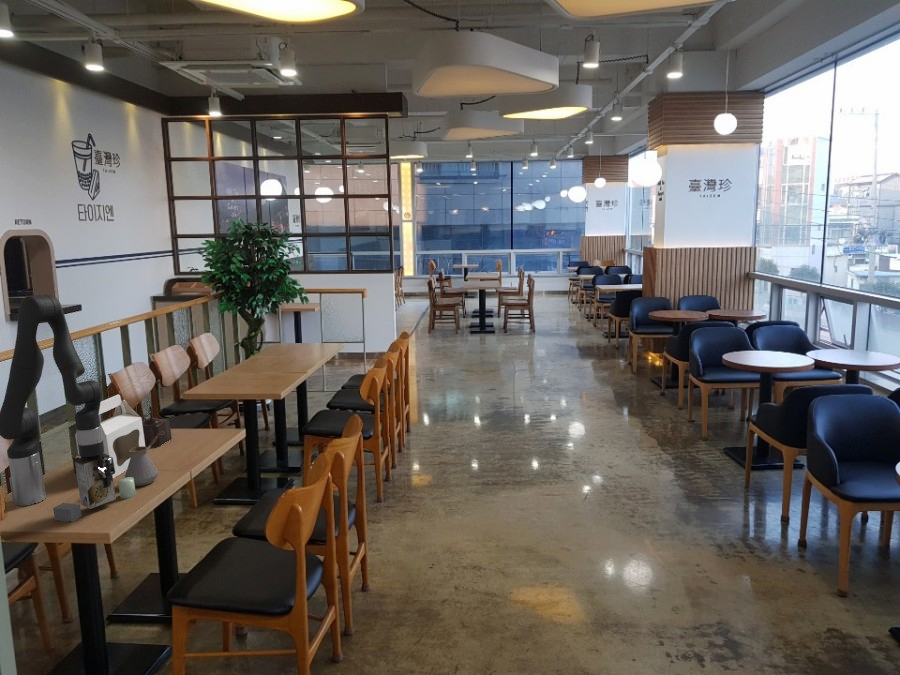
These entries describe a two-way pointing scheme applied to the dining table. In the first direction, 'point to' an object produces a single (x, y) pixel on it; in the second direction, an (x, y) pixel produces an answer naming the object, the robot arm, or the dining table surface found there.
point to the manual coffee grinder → (155, 430)
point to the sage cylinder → (126, 487)
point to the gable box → (120, 432)
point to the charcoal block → (67, 512)
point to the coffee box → (93, 483)
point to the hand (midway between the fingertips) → (96, 486)
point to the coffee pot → (142, 465)
